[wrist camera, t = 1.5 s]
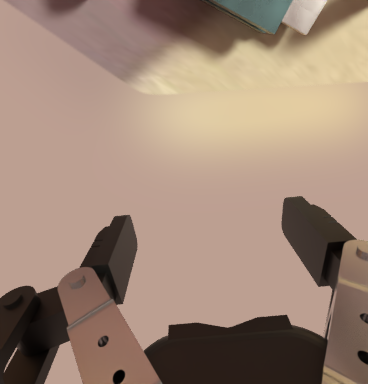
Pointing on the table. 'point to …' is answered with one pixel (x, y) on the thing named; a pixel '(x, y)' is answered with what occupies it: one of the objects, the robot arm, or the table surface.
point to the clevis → (272, 13)
